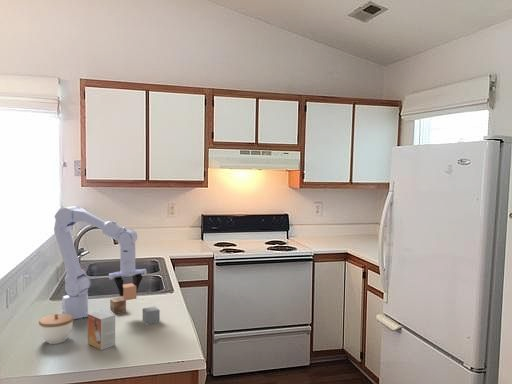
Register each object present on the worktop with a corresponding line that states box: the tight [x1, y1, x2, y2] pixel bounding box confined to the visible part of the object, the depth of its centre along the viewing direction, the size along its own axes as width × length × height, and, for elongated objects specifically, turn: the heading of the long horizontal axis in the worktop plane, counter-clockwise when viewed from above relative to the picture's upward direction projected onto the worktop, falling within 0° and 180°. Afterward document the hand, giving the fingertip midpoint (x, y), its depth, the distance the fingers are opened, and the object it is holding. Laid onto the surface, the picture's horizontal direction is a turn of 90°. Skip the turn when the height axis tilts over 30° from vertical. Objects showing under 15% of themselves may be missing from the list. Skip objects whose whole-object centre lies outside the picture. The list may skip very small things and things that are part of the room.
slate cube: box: [142, 306, 161, 325], centre depth 169 cm, size 5×5×5 cm
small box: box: [87, 309, 116, 351], centre depth 147 cm, size 8×6×10 cm
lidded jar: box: [38, 313, 74, 345], centre depth 150 cm, size 11×11×9 cm
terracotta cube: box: [119, 282, 137, 301], centre depth 173 cm, size 5×5×5 cm
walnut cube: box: [109, 296, 127, 314], centre depth 181 cm, size 5×5×5 cm
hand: (128, 294), depth 173 cm, fingers closed on terracotta cube, 5 cm apart
